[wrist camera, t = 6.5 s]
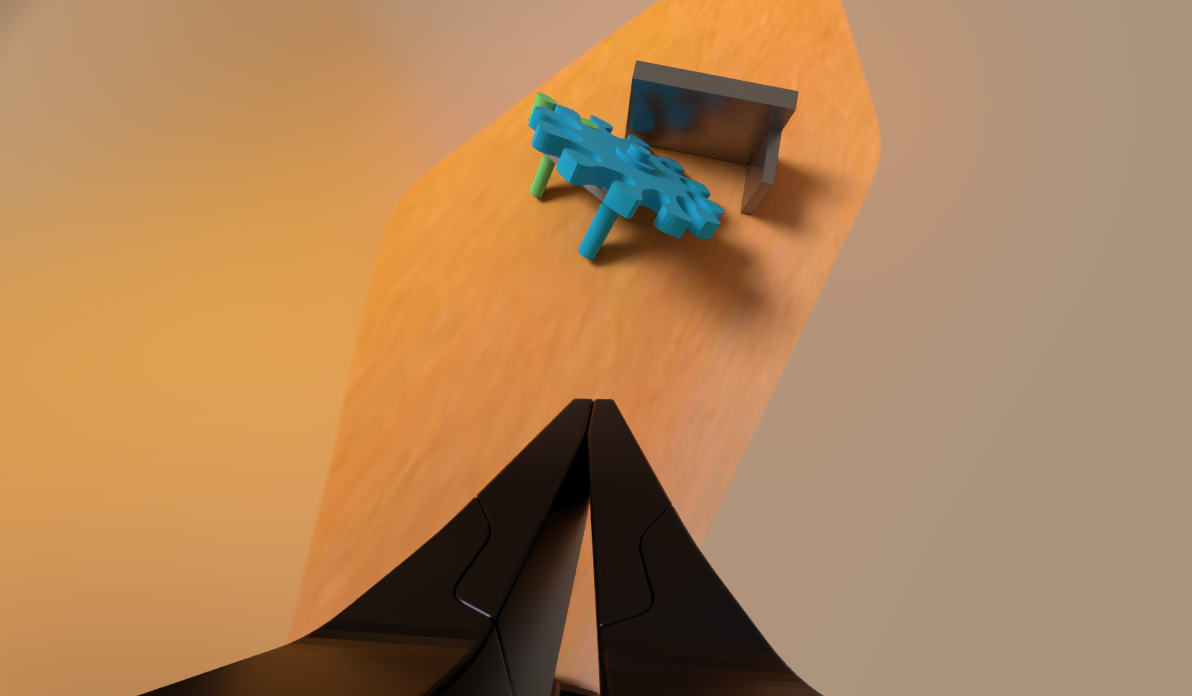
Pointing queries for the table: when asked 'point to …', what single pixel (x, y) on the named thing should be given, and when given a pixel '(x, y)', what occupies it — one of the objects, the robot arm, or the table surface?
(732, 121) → the bay frame
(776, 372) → the table surface
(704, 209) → the gear
